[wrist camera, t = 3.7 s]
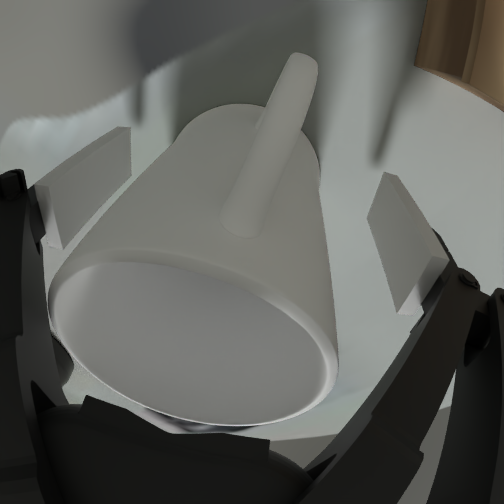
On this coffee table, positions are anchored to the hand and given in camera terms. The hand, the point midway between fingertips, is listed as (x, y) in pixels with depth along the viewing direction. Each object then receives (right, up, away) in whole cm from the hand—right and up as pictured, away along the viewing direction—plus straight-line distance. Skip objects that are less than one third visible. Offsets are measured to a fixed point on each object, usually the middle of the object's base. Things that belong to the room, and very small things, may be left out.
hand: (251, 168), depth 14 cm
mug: (0, +1, +2) cm, 2 cm away
